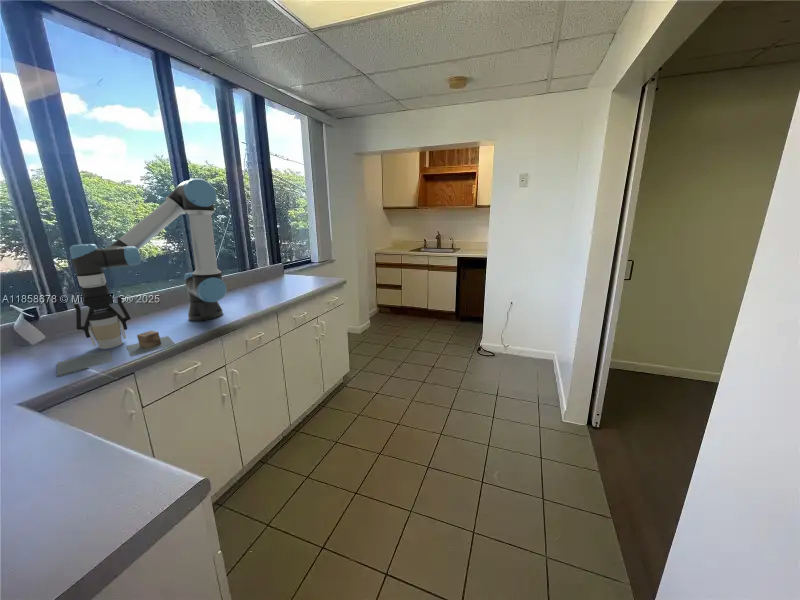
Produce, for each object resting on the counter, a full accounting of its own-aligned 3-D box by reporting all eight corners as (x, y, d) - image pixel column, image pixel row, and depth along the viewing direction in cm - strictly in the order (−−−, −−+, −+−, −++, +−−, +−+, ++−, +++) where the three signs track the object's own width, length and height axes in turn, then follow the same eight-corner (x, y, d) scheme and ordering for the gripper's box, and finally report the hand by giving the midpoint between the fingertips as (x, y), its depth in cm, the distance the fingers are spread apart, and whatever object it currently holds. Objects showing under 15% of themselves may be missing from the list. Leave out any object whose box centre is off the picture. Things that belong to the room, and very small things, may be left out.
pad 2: (168, 337, 138) (167, 336, 138) (176, 346, 128) (175, 344, 128) (126, 347, 129) (125, 346, 128) (131, 357, 119) (130, 356, 119)
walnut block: (153, 342, 132) (150, 330, 130) (161, 343, 130) (158, 332, 128) (140, 346, 127) (136, 334, 126) (147, 348, 125) (144, 336, 124)
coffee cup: (108, 351, 125) (97, 314, 121) (90, 350, 127) (78, 313, 123) (131, 342, 133) (122, 307, 129) (114, 341, 135) (104, 307, 131)
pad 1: (109, 351, 125) (109, 350, 125) (113, 362, 116) (112, 360, 115) (58, 363, 116) (57, 362, 116) (57, 376, 106) (56, 375, 106)
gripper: (128, 279, 133) (141, 331, 139) (54, 289, 119) (72, 346, 125) (130, 281, 128) (144, 335, 134) (53, 292, 114) (72, 352, 120)
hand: (109, 341), depth 129 cm, fingers closed on coffee cup, 8 cm apart
